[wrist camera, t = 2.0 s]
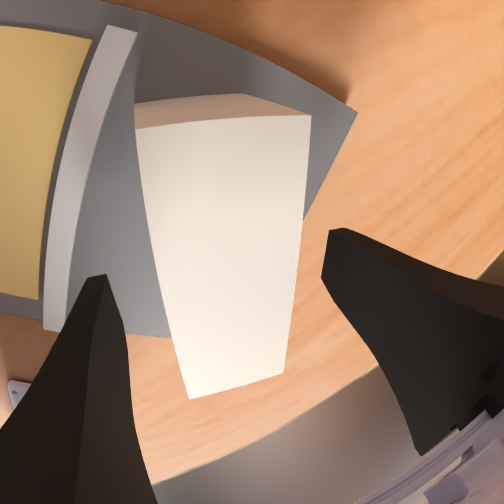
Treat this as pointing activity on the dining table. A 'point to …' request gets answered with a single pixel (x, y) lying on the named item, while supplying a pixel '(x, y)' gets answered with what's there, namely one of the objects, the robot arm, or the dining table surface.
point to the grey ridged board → (109, 145)
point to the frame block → (224, 229)
